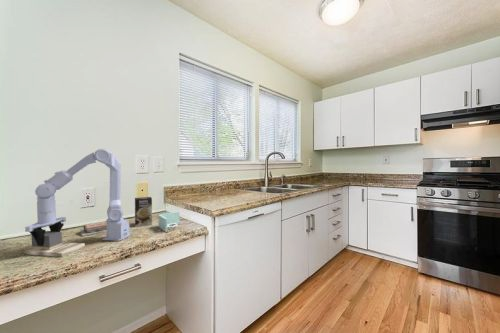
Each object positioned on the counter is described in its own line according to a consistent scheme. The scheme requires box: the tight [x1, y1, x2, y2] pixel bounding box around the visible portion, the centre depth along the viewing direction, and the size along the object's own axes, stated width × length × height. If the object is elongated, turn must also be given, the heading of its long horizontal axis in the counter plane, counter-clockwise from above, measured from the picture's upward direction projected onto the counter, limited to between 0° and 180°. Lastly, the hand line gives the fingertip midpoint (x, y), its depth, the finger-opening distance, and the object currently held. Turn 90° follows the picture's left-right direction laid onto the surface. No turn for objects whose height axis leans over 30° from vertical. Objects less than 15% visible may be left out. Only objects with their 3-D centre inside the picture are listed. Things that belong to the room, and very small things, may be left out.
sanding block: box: [30, 230, 63, 249], centre depth 93 cm, size 9×5×6 cm, turn 81°
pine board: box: [23, 241, 86, 258], centre depth 92 cm, size 18×10×2 cm, turn 82°
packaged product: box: [80, 221, 107, 238], centre depth 118 cm, size 18×5×10 cm
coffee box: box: [134, 196, 153, 228], centre depth 128 cm, size 9×6×16 cm
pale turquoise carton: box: [157, 211, 180, 233], centre depth 124 cm, size 12×12×8 cm
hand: (47, 242), depth 93 cm, fingers closed on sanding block, 5 cm apart
